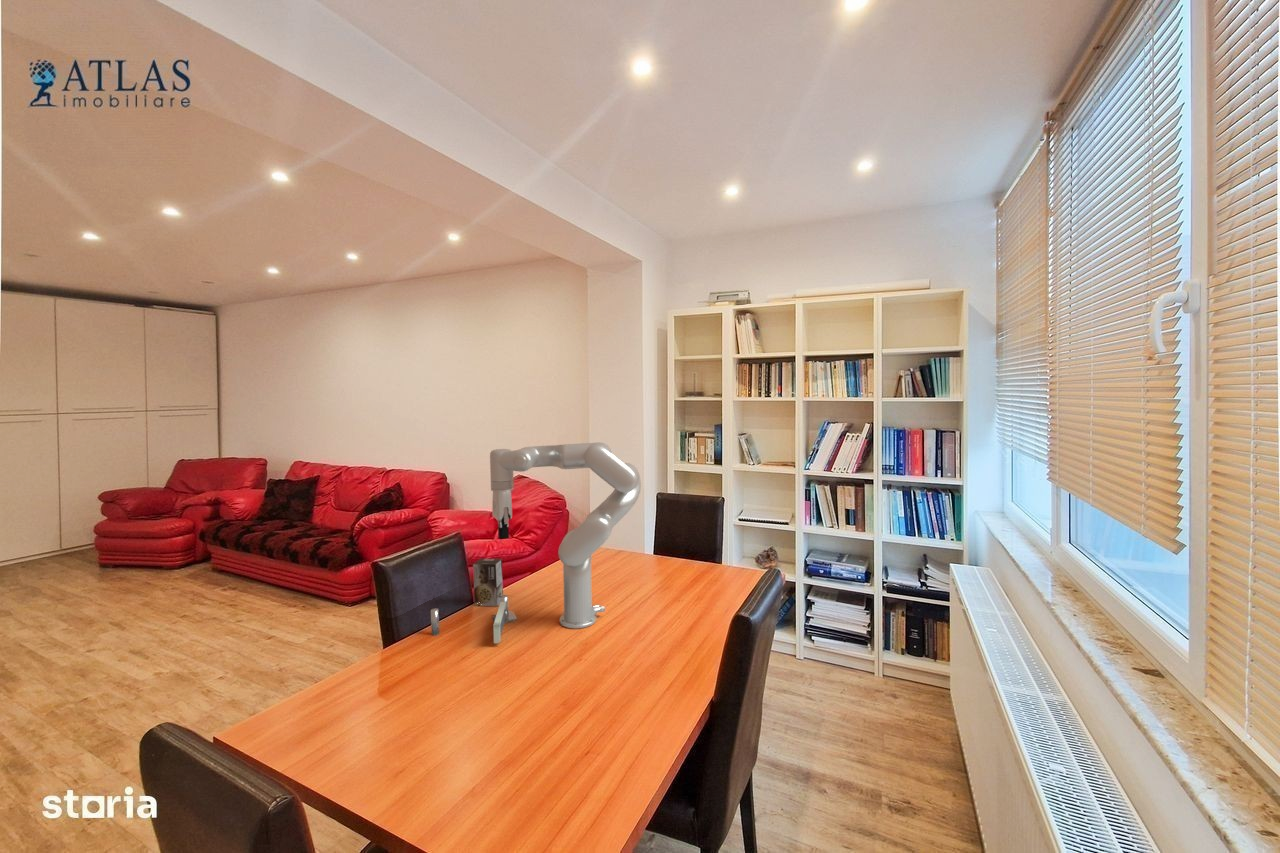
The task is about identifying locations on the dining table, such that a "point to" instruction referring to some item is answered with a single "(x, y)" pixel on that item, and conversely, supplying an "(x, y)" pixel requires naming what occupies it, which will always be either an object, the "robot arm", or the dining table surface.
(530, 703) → the dining table surface
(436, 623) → the post
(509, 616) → the grey post with base
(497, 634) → the gate
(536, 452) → the robot arm
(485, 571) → the coffee box
